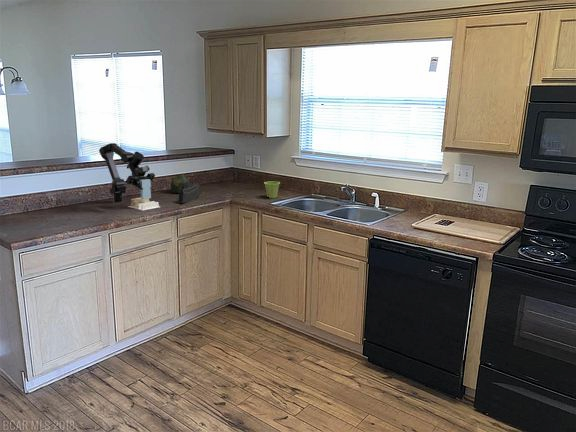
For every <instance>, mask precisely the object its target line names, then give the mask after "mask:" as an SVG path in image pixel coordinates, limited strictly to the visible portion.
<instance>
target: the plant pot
mask: <svg viewBox="0 0 576 432" xmlns="http://www.w3.org/2000/svg"><path fill="white" fill-rule="evenodd" d="M263 184H264V186H265V187H264V188H265V192H266V196H267V197H269V199H276V197H278V194H279V193H278V192H279V187H280V184H281V182H280V181H264V183H263Z"/></svg>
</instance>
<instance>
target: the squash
mask: <svg viewBox="0 0 576 432" xmlns="http://www.w3.org/2000/svg"><path fill="white" fill-rule="evenodd" d="M190 187H191V183H190V179H188V177H187V176H186V174H184V173H181V174H179V175H177V176H176V177H173V178H172V179H171V181H170V190H171V191H172V192H173V193H174V194H179V192H180V189H187V188H190Z"/></svg>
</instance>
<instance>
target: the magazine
mask: <svg viewBox="0 0 576 432" xmlns="http://www.w3.org/2000/svg"><path fill="white" fill-rule="evenodd" d="M201 194H202V187H201V185H200V184H199V182H198V181H196V182H195V183H194V184H193V185H192V186H190V188H187V189H180V192H179V193H178V199H177V200H178V201H177V203H179V204H185V203H189V202H193V201H195V200H196V199H197V198H199V196H200V195H201Z"/></svg>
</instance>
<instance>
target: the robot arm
mask: <svg viewBox="0 0 576 432" xmlns="http://www.w3.org/2000/svg"><path fill="white" fill-rule="evenodd" d="M98 151H99V152H98V153H99V154H100V156H101V158H102V159H103V160H104V161H105V163H106V165H107V168H108V172H109V173H110V176H111V179H112V180H111V181H112V182H111V188H110V190H109V194H111V195H113V201H112V203H114V204H115V203H121V202H124V198H123V194H125V193H126V191H127V185H131V186H135V187H137V188H138V189H140V191H141V190H143V187H142V186H141V184H140V180H146V179H150V187H151V189H152V182H153V180H154V179H155V177H156V174H155V173H154V172H150V173H148V172H149V171H150V166H149V165H144V166H141V167H140V166H139V165H141V163H142V162H143V161H144V158H145V156H144V155H143V154H142V153H141V152H139V151H134V153H133V152H131V151H126V150H124V149H123V148H122V147H121V146H119V145H118V144H117V143H115V142H112V143H108V144H105V145H103V146H101V147H100V149H98ZM114 154H116V155H118V157H120V160H121V161H122V162H123V163H125V164H126V163H128V164H127V165H126V169H129V170H130V172H131V174H130V175H128V176H127V177H126V179H124V178H122V177H120V174H119V171H118V168H117V166H116V163H115V159H114ZM146 173H147V174H146Z"/></svg>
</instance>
